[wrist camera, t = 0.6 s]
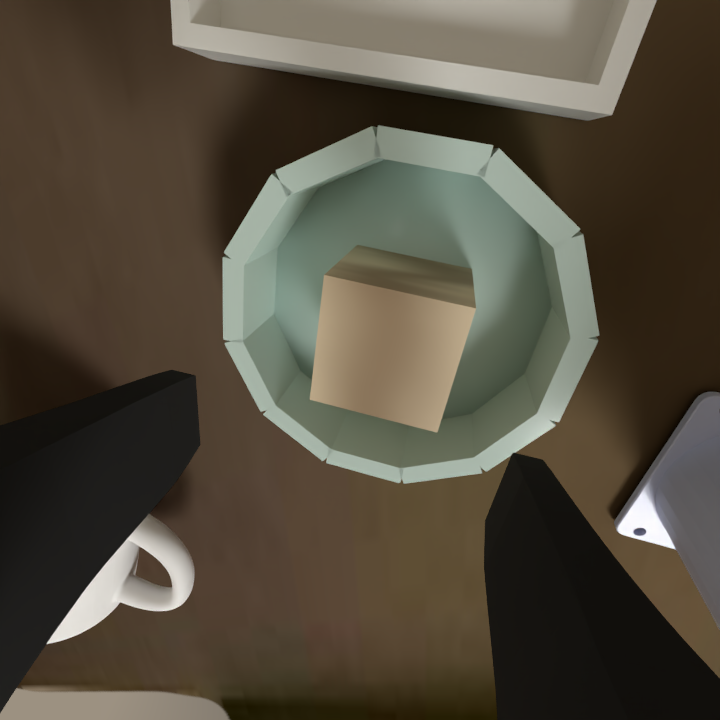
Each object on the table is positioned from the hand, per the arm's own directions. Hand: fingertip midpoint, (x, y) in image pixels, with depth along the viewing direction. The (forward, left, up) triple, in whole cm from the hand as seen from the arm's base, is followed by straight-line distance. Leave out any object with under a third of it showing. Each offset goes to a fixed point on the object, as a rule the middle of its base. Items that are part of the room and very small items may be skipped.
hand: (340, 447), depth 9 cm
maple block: (0, 0, -9) cm, 9 cm away
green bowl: (0, 0, -9) cm, 9 cm away
